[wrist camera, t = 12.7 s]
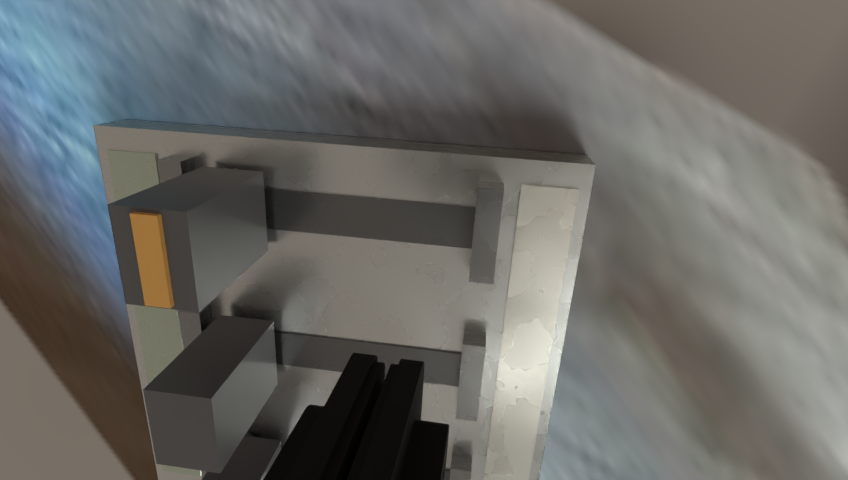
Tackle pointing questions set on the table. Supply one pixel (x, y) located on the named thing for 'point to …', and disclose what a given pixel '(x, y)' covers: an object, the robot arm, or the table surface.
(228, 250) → the orange striped slider handle
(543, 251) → the panel
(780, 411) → the table surface
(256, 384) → the handle middle
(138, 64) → the table surface
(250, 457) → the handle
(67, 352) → the table surface
